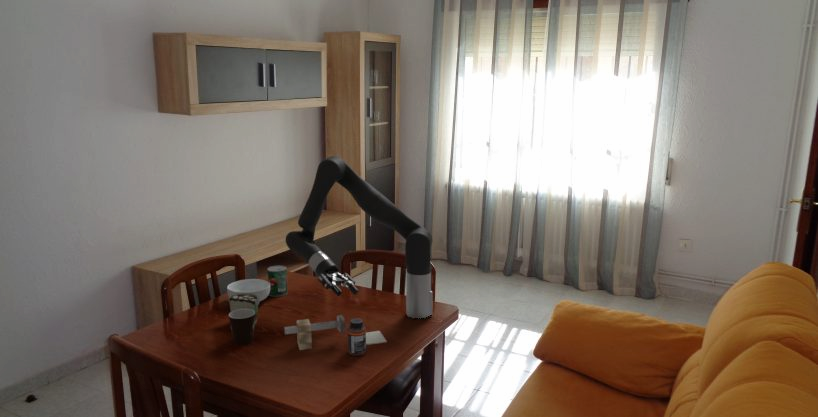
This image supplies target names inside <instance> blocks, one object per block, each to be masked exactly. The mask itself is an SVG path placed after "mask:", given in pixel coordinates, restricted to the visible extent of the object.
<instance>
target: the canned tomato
mask: <svg viewBox="0 0 818 417" xmlns="http://www.w3.org/2000/svg"><path fill="white" fill-rule="evenodd" d="M287 268H288V267H287V266H285V265H282V264H281V265H270V266H269V267H267V269H266V270H267V281H268V282H269V283H270V293H269V295H268V296H270V297H275V298H276V297H283V296H286V295H287V294H288V293H289V291H288V270H287Z"/></svg>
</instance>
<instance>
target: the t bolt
mask: <svg viewBox="0 0 818 417" xmlns="http://www.w3.org/2000/svg"><path fill="white" fill-rule="evenodd" d="M283 329H284V331H283V332H284V335H291V334H297V333H298V326H297V325H292V326H284V327H283ZM328 329H329V330H330V329H338V332H339V333H345V332H346V320H345V317H344V315H343V314H338V315H336V320H331V321H324V322H315V323H311V332H315V331H321V330H328Z"/></svg>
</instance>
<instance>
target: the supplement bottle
mask: <svg viewBox="0 0 818 417" xmlns="http://www.w3.org/2000/svg"><path fill="white" fill-rule="evenodd" d="M363 324H364V323H363V319H361V318H359V317H358V318H355V317H354V318H352V319H350V322H349V326H348V327H347V352H348V354H349V355H350V356H353V357H359V356H361V357H362V356H363V355H364V354H366V352H367V345H366V333H367V331H366V330H367V329H366V326H365V325H363Z"/></svg>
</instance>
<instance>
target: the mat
mask: <svg viewBox="0 0 818 417" xmlns="http://www.w3.org/2000/svg"><path fill="white" fill-rule="evenodd" d="M385 343H387V340H386V338H385V337H384V335H383V334H382V332H381V331H380V330H375V331H369V332H368V331H366V346H370V345H376V344H385Z"/></svg>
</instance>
